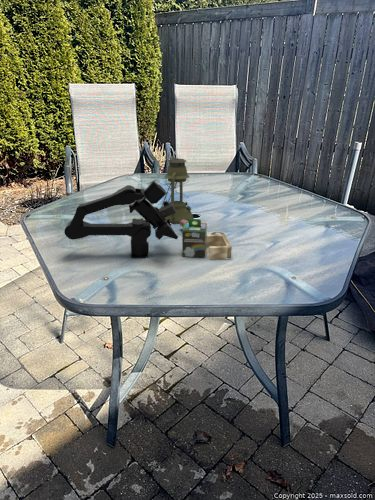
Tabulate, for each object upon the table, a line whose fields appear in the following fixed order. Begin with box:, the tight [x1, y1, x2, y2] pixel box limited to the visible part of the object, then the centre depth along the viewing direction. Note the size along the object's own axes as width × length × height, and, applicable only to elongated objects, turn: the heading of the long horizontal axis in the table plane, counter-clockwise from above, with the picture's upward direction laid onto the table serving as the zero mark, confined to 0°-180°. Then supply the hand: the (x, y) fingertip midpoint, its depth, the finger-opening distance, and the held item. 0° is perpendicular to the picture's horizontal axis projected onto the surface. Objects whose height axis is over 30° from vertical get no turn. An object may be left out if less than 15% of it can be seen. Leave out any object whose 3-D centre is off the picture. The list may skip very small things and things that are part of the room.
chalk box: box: [181, 218, 208, 259], centre depth 150 cm, size 9×9×15 cm
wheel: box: [210, 231, 225, 235], centre depth 166 cm, size 6×6×3 cm
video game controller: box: [179, 219, 189, 228], centre depth 174 cm, size 10×5×7 cm, turn 21°
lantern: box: [160, 157, 195, 225], centre depth 186 cm, size 21×18×30 cm
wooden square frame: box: [206, 233, 233, 260], centre depth 152 cm, size 8×14×5 cm, turn 6°
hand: (177, 238), depth 149 cm, fingers closed
